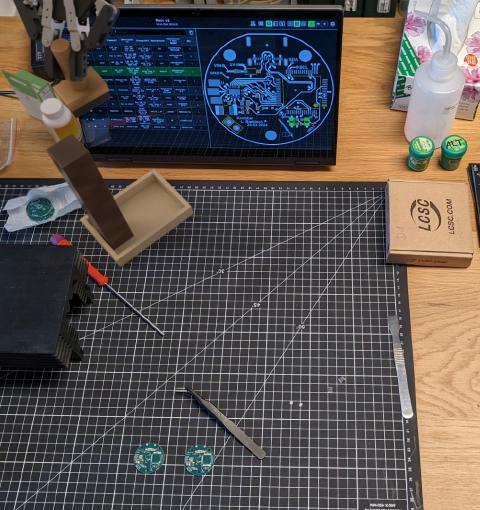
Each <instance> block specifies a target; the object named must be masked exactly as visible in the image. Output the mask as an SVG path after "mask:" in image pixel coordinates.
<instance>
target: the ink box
mask: <svg viewBox="0 0 480 510" xmlns="http://www.w3.org/2000/svg"><path fill="white" fill-rule="evenodd" d="M0 72H1V73H2V75H3V76H4V77H5V79H6V80H7V82H8V84H9V85H10V87H11V89H12V90H13V92H14V94H15V95H16V97H17V98H18V100H19V102H20V103H21V105H22V107H23V108H24V110H25V111H26V113H27V115H28V116H30V117H32V118H35V119H37V120H38V121H40V122H43V119H42V115H43V113H42V111H41V109H40V106H41V104H42V102H43V101H45V100H46V99H49V98H57V99H58V96H57V94H56V92H55V91H54V89H53V86H52V85H51V83H50V82H49V81H48V80H45V79H44V78H41V77H39V76H37V75H35V74H32V73H30V72H28V71H26V70H24V69H21V68H20V69H19V70H18V71H17V72H16V73H15V74H14V73H12V72H10V71H7V70H5V69H2V68H0Z"/></svg>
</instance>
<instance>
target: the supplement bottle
mask: <svg viewBox="0 0 480 510" xmlns="http://www.w3.org/2000/svg"><path fill="white" fill-rule="evenodd" d="M40 109H41V111H42V113H43V115H42V119H43V121H42V122H43V124H44V125H45V127H46V129H47V130H48V132H49V133H50V136H51V137H52V139H53V140H54V142H55V144H56V143H57V142H59V141H61V140H62V139H64V138H65V137H67V136H69V135H70V134H73V135H74V136H75V137H76V138H77V139H78V140H79V141H80V142H81V140H82V138H83V133H82V130H81V128H80V126H79V124H78V123H77V121H76V118H75V116H74V115H73V114H72V113H71V112H70V110H69V109H68V108H67V107H66V106H65V105H64V103H63V102H62V100H61V99H60V98H59V99H58V97H57V98H49V99H46V100H45V101H43V102H42V104H41V106H40Z"/></svg>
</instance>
